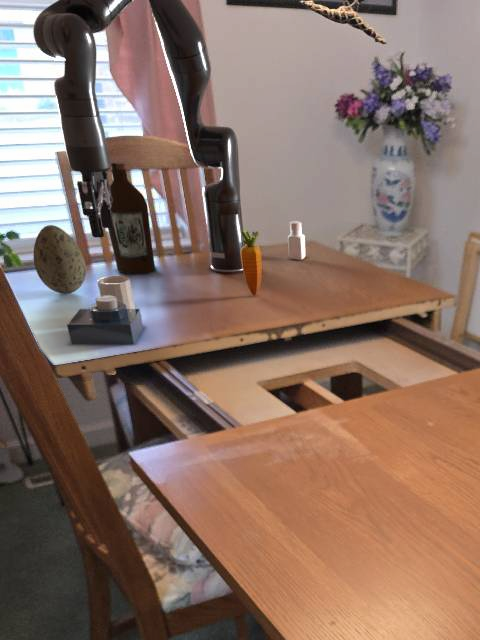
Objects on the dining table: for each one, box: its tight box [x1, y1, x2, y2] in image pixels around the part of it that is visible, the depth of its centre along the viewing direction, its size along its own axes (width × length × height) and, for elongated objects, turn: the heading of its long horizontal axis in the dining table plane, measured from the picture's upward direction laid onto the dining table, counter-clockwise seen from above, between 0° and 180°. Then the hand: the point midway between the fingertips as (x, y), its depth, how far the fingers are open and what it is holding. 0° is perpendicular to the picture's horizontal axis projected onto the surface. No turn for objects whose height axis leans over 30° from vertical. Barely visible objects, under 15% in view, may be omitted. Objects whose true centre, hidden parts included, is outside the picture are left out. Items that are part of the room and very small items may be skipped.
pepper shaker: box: [287, 220, 306, 261], centre depth 198 cm, size 4×4×10 cm
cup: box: [97, 275, 136, 309], centre depth 152 cm, size 6×6×8 cm
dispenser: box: [66, 302, 144, 345], centre depth 143 cm, size 12×10×6 cm
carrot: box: [240, 229, 263, 297], centre depth 166 cm, size 5×5×15 cm
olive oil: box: [107, 161, 156, 275], centre depth 179 cm, size 11×11×25 cm
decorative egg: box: [33, 224, 87, 295], centre depth 163 cm, size 11×11×15 cm
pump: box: [94, 296, 118, 310], centre depth 141 cm, size 4×4×2 cm
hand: (103, 232), depth 145 cm, fingers open, 8 cm apart
